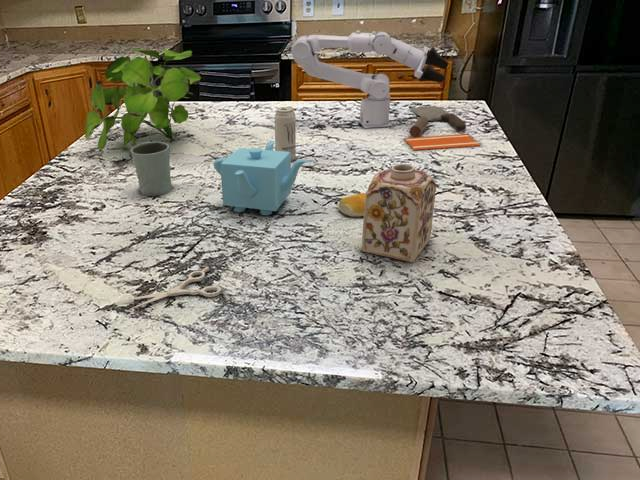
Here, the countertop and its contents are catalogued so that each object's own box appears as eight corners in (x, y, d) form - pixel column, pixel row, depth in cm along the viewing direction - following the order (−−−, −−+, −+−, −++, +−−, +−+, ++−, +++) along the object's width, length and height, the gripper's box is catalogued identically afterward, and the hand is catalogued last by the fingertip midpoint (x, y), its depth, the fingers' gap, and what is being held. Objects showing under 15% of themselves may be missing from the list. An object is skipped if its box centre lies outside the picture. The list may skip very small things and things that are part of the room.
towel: (414, 150, 183) (414, 149, 182) (404, 139, 192) (404, 138, 192) (480, 146, 183) (480, 144, 183) (466, 135, 192) (466, 133, 192)
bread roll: (383, 210, 148) (384, 195, 146) (355, 220, 144) (356, 204, 142) (359, 200, 154) (360, 185, 151) (332, 209, 150) (333, 194, 148)
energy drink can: (285, 164, 178) (284, 113, 170) (271, 160, 182) (270, 109, 174) (299, 159, 182) (299, 108, 174) (285, 155, 186) (284, 105, 178)
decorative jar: (413, 264, 125) (422, 181, 115) (360, 252, 130) (364, 172, 121) (431, 240, 133) (441, 161, 123) (380, 230, 138) (386, 154, 129)
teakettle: (211, 200, 159) (206, 145, 151) (275, 186, 164) (274, 132, 157) (240, 228, 144) (236, 168, 136) (310, 211, 150) (310, 153, 142)
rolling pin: (417, 139, 193) (422, 128, 191) (407, 134, 194) (412, 124, 192) (425, 129, 201) (430, 119, 199) (415, 124, 202) (420, 114, 200)
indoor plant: (217, 140, 179) (158, 49, 163) (109, 199, 195) (45, 121, 179) (231, 85, 212) (182, 5, 197) (137, 139, 228) (86, 69, 213)
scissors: (229, 288, 119) (131, 317, 112) (229, 292, 119) (132, 320, 112) (207, 266, 127) (115, 291, 120) (208, 269, 127) (116, 295, 120)
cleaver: (472, 130, 195) (473, 123, 194) (443, 133, 194) (444, 126, 193) (434, 108, 220) (434, 102, 219) (408, 110, 219) (408, 104, 218)
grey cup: (180, 185, 169) (175, 143, 162) (161, 199, 161) (156, 155, 155) (149, 181, 173) (143, 140, 166) (129, 194, 165) (123, 151, 159)
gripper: (409, 57, 186) (448, 75, 187) (416, 32, 194) (455, 50, 195) (398, 75, 192) (436, 93, 193) (406, 50, 200) (443, 67, 201)
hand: (445, 72), depth 194 cm, fingers open, 7 cm apart
